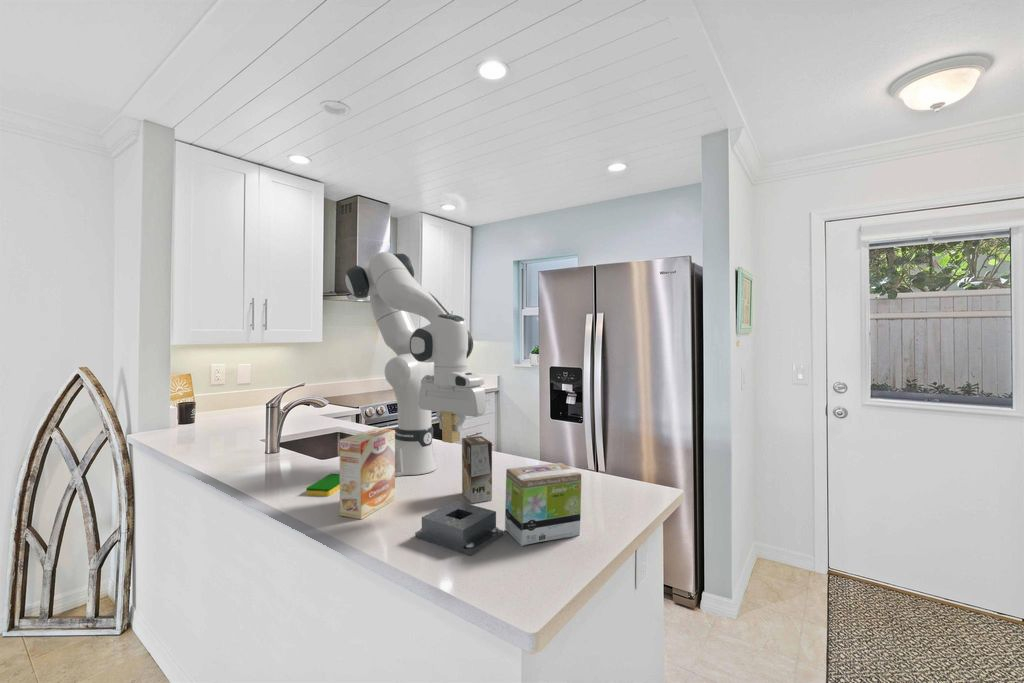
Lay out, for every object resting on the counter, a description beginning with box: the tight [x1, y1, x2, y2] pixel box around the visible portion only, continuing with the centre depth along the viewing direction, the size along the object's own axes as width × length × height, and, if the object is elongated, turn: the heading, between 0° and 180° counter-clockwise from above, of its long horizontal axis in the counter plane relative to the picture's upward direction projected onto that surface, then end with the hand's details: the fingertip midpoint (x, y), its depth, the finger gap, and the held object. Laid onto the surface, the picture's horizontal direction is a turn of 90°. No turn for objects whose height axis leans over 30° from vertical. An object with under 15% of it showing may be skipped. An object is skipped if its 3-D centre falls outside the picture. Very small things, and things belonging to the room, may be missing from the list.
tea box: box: [504, 462, 582, 547], centre depth 109 cm, size 15×10×15 cm, turn 114°
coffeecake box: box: [339, 427, 396, 520], centre depth 124 cm, size 15×7×20 cm, turn 160°
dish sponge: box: [305, 473, 340, 497], centre depth 140 cm, size 7×14×2 cm, turn 171°
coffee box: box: [461, 435, 493, 504], centre depth 132 cm, size 9×6×16 cm
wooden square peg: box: [441, 411, 461, 444], centre depth 123 cm, size 4×4×8 cm
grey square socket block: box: [414, 500, 504, 556], centre depth 108 cm, size 16×12×5 cm
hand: (450, 430), depth 123 cm, fingers closed on wooden square peg, 3 cm apart
